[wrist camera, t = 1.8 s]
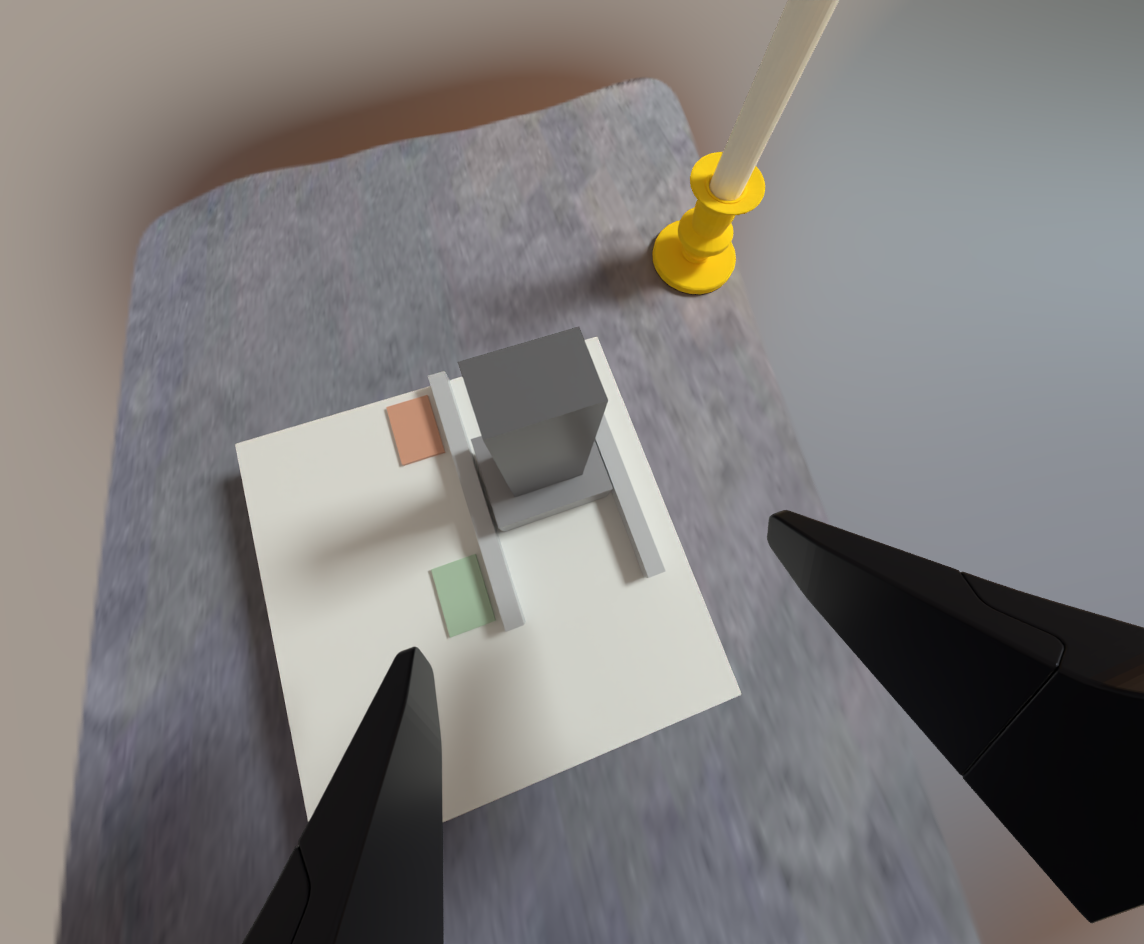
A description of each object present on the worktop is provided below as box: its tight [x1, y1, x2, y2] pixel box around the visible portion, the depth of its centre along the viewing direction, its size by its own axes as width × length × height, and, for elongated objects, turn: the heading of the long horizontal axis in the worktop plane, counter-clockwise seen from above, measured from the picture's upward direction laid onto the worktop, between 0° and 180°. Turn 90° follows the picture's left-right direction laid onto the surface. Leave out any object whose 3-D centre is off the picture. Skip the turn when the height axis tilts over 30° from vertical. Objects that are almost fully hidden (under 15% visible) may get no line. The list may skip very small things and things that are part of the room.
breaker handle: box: [458, 327, 613, 532], centre depth 14 cm, size 4×5×10 cm
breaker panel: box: [235, 337, 742, 822], centre depth 19 cm, size 18×18×4 cm
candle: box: [652, 0, 839, 294], centre depth 18 cm, size 5×5×16 cm
